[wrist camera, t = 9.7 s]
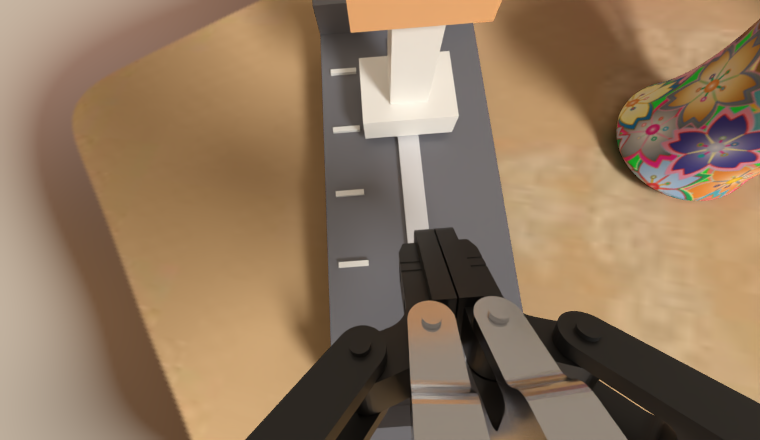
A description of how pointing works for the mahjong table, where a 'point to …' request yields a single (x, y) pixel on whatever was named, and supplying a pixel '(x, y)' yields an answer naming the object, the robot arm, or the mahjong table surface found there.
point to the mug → (698, 126)
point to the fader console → (402, 186)
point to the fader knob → (411, 63)
